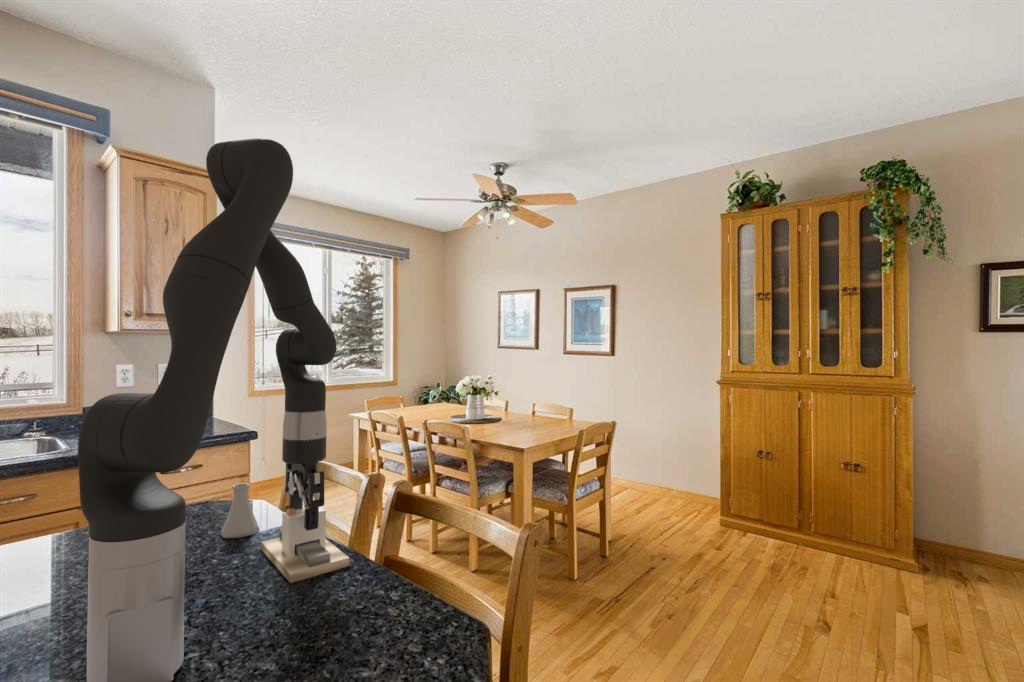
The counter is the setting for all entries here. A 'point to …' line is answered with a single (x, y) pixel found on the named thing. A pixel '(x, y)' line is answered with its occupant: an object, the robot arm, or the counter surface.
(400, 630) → the counter surface
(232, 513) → the flask
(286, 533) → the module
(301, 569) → the rail board
